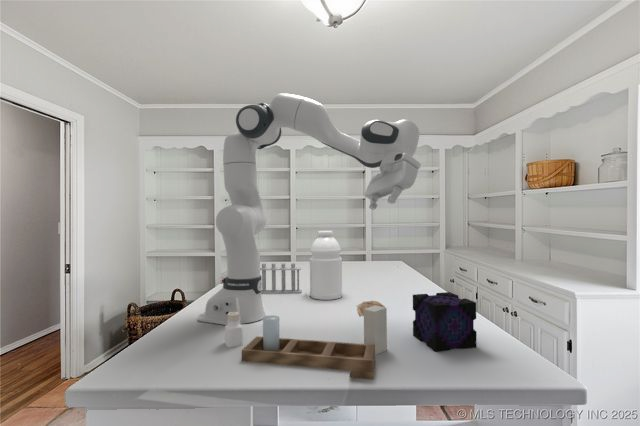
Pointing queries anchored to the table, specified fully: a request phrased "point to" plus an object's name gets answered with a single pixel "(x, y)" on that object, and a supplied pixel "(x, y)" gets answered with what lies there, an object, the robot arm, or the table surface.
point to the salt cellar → (271, 333)
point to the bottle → (325, 267)
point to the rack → (316, 355)
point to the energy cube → (444, 321)
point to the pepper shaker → (233, 330)
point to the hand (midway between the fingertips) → (381, 205)
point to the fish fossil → (367, 306)
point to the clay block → (376, 327)
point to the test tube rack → (282, 279)
